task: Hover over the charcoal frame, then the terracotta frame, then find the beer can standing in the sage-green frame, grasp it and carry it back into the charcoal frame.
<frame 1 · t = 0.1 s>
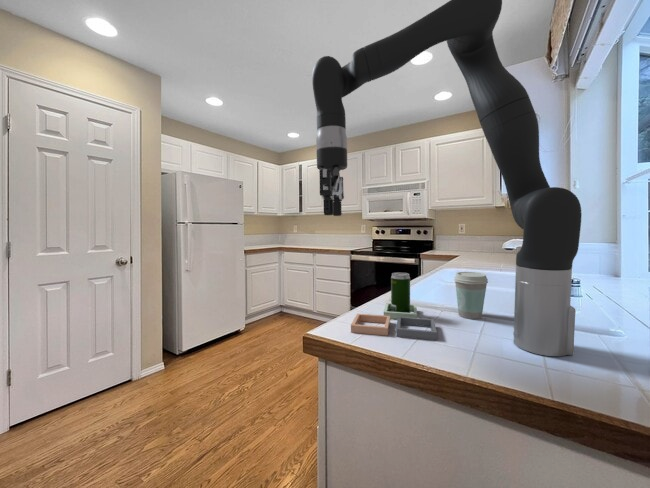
hand: (333, 215, 70), 29 cm above the worktop, fingers open, 8 cm apart
frame a charcoal: (415, 330, 70), on the worktop
coffee cup: (469, 316, 80), on the worktop
beer can: (400, 314, 82), resting in frame c sage
frame b terracotta: (371, 327, 73), on the worktop
frame c sage: (400, 314, 82), on the worktop
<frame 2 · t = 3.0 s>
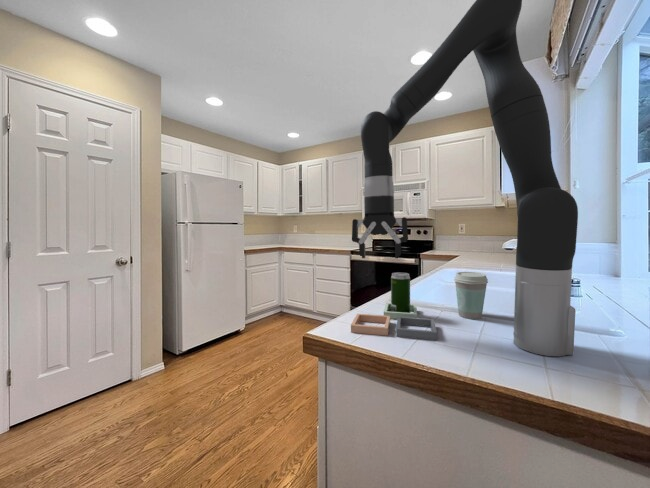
hand: (379, 258, 73), 18 cm above the worktop, fingers open, 8 cm apart
nothing on the worktop moved.
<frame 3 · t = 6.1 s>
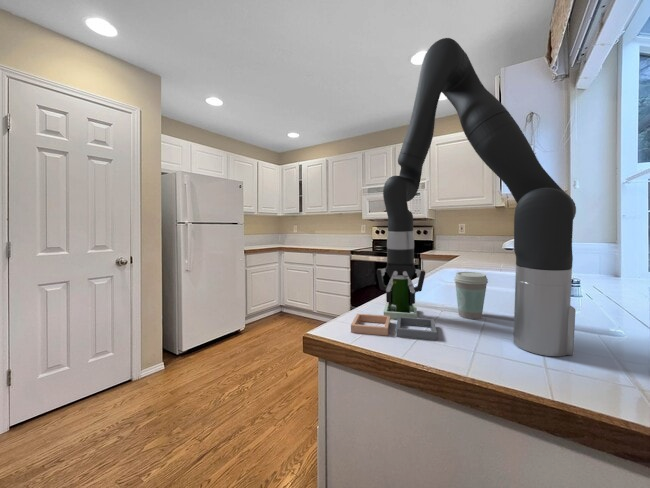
hand: (400, 304, 82), 3 cm above the worktop, fingers closed on beer can, 5 cm apart
beer can: (400, 314, 82), resting in frame c sage, touching gripper
everything else where it was.
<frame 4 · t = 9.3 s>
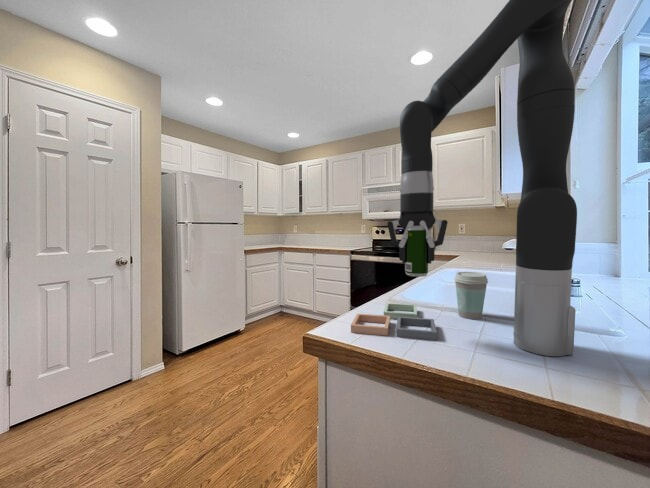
hand: (416, 262, 68), 17 cm above the worktop, fingers closed on beer can, 5 cm apart
beer can: (416, 275, 68), point 14 cm above the worktop, touching gripper
everything else where it was.
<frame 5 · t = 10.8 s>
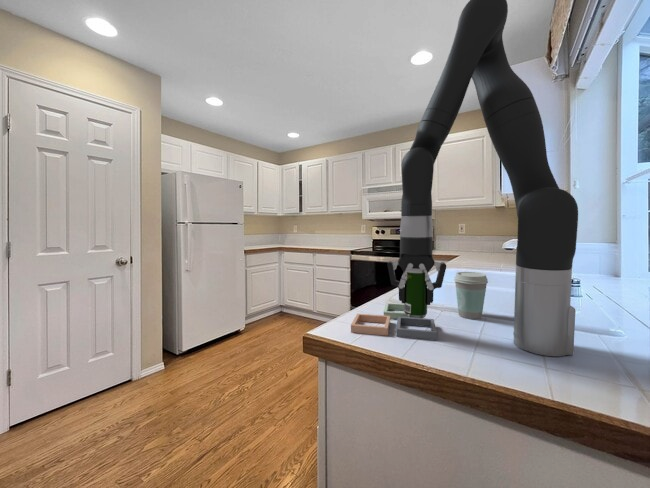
hand: (415, 303, 69), 7 cm above the worktop, fingers closed on beer can, 5 cm apart
beer can: (415, 315, 69), point 4 cm above the worktop, touching gripper
everything else where it was.
when the fingers open (4 cm above the worktop, at t = 12.3 s): beer can drops 1 cm, resting in frame a charcoal.
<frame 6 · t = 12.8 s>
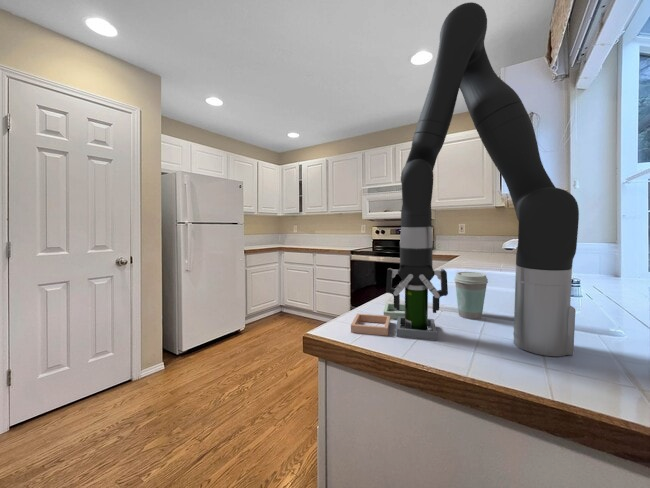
hand: (415, 310, 69), 5 cm above the worktop, fingers open, 8 cm apart
beer can: (416, 331, 70), resting in frame a charcoal
everything else where it was.
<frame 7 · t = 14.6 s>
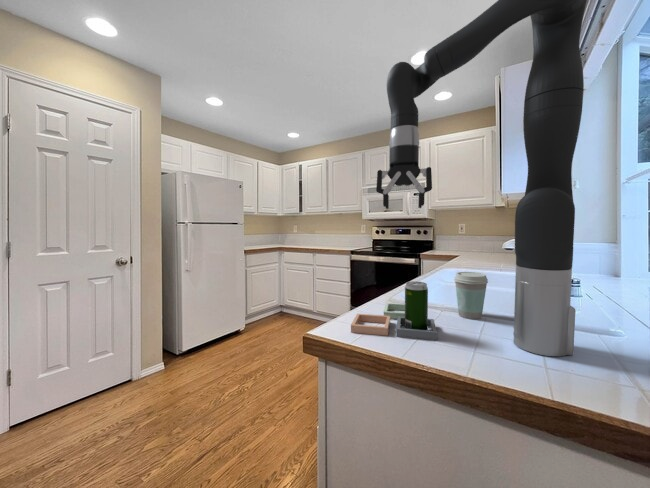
hand: (403, 208, 76), 31 cm above the worktop, fingers open, 8 cm apart
nothing on the worktop moved.
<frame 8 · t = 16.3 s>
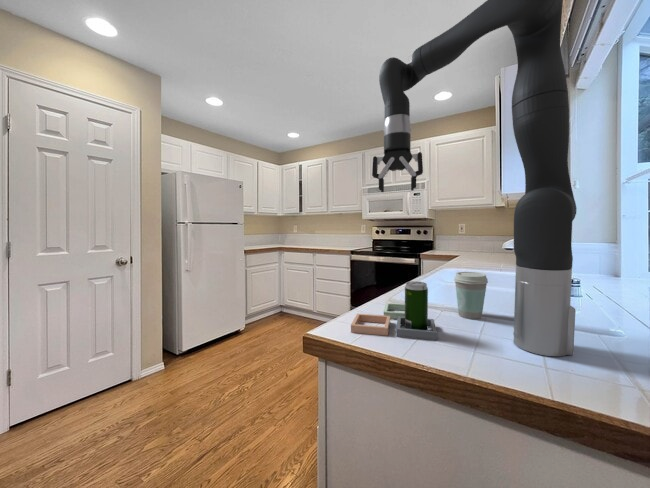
hand: (397, 191, 82), 36 cm above the worktop, fingers open, 8 cm apart
nothing on the worktop moved.
at the end: beer can 0.1 cm off-centre on the frame a charcoal, point 0.0 cm above the frame a charcoal's base; beer can tilted 0°; the gripper is holding nothing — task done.
